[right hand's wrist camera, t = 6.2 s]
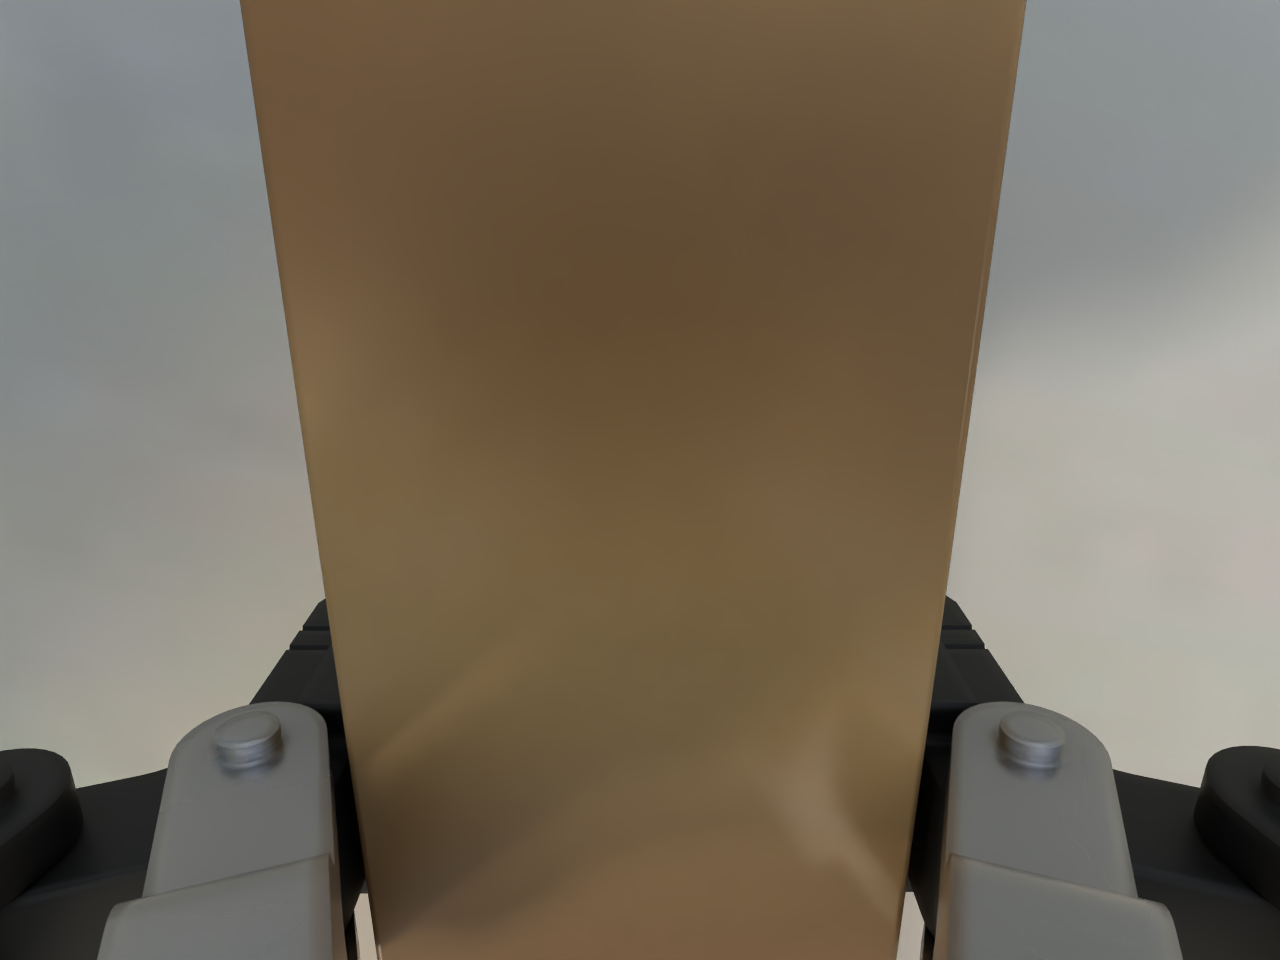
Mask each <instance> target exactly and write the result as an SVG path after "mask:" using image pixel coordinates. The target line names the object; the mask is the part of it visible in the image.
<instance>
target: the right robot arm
mask: <svg viewBox="0 0 1280 960" xmlns="http://www.w3.org/2000/svg"><path fill="white" fill-rule="evenodd" d="M984 645H985V644H984V643H983V641H982V640H981V638H980V637H979V635H978V634H977V632H976V631H975V630H972V625H971V623H970V622H969V620H968V619H967V617H966V616H965V614H964V613H963V612H962V610H961V609H960V607H959V606H958V604H957V603H956V602H955V601H953V600H952V599H950V598H949V597H947V596H946V597H945V604H944V612H943V619H942V626H941V634H940V641H939V648H938V656H937V663H936V671H935V678H934V685H933V693H932V700H931V707H930V715H929V722H928V729H927V737H926V744H925V751H924V759H923V766H922V774H921V781H920V788H919V796H918V803H917V810H916V818H915V825H914V832H913V840H912V847H911V854H910V862H909V869H908V876H907V884H906V891H905V892H914V895H915V898H916V900H917V903H918V906H919V909H920V911H921V914H922V917H923V920H924V928H923V934H922V941H921V952H920V960H1280V749H1274V748H1269V747H1260V746H1238V747H1231V748H1227V749H1223V750H1221V751H1219V752H1217V753H1215V754H1214V755H1213V756H1212V757H1211V758H1210V759H1209V761H1208V763H1207V765H1206V769H1205V772H1204V776H1203V780H1202V783H1201V787H1200V788H1198V787H1193V786H1188V785H1183V784H1178V783H1173V782H1168V781H1163V780H1158V779H1153V778H1148V777H1144V776H1139V775H1134V774H1130V773H1125V772H1121V771H1117V770H1114V769H1112V764H1111V760H1110V757H1109V754H1108V752H1107V750H1106V748H1105V747H1104V745H1103V744H1102V743H1101V742H1100V741H1099V739H1098V738H1097V737H1096V736H1095V735H1093V734H1092V733H1091V732H1090V731H1089V730H1088V729H1086V728H1085V727H1083V726H1082V725H1080V724H1079V723H1077V722H1075V721H1073V720H1072V719H1070V718H1068V717H1066V716H1064V715H1061V714H1059V713H1056V712H1054V711H1051V710H1048V709H1045V708H1042V707H1038V706H1034V705H1030V704H1024V702H1023V701H1022V699H1021V698H1020V696H1019V695H1018V693H1017V692H1016V690H1015V689H1014V687H1013V686H1012V684H1011V683H1010V681H1009V680H1008V678H1007V677H1006V675H1005V674H1004V672H1003V671H1002V669H1001V668H1000V666H999V665H998V663H997V662H996V660H995V659H994V658H993V656H992V655H991V653H990V652H989V650H988V649H985V647H984ZM360 893H368V890H367V883H366V876H365V869H364V862H363V855H362V848H361V841H360V834H359V827H358V820H357V813H356V806H355V799H354V792H353V785H352V778H351V771H350V764H349V757H348V750H347V743H346V736H345V730H344V723H343V716H342V709H341V702H340V695H339V688H338V681H337V674H336V667H335V660H334V653H333V646H332V639H331V632H330V625H329V618H328V611H327V604H326V599H324V600H323V601H321V602H320V603H318V605H317V606H316V607H315V609H314V610H313V612H312V613H311V615H310V616H309V618H308V619H307V621H306V622H305V624H304V625H303V631H299V632H298V634H297V635H296V637H295V638H294V640H293V641H292V643H291V644H290V649H289V650H286V651H285V653H284V654H283V656H282V657H281V659H280V660H279V662H278V663H277V664H276V666H275V667H274V669H273V670H272V672H271V673H270V675H269V676H268V678H267V679H266V681H265V682H264V683H263V685H262V686H261V688H260V689H259V691H258V692H257V694H256V695H255V697H254V698H253V700H252V701H251V702H250V704H249V705H246V706H242V707H238V708H235V709H232V710H229V711H226V712H224V713H221V714H219V715H216V716H214V717H212V718H210V719H209V720H207V721H205V722H203V723H201V724H200V725H198V726H197V727H195V728H194V729H193V730H191V731H190V732H189V733H188V734H187V735H185V736H184V737H183V738H182V739H181V741H180V742H179V743H178V744H177V745H176V747H175V749H174V750H173V752H172V754H171V757H170V760H169V764H168V768H166V769H163V770H160V771H157V772H153V773H149V774H145V775H141V776H136V777H131V778H126V779H121V780H116V781H112V782H107V783H102V784H97V785H92V786H87V787H82V788H77V789H76V788H75V784H74V780H73V777H72V773H71V769H70V767H69V764H68V762H67V761H66V760H65V759H64V758H63V757H62V756H60V755H58V754H57V753H55V752H51V751H48V750H43V749H34V748H31V749H12V750H5V751H0V960H360V951H359V941H358V934H357V927H356V921H355V914H354V908H355V905H356V903H357V900H358V897H359V895H360Z"/></svg>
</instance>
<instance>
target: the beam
mask: <svg viewBox="0 0 1280 960" xmlns="http://www.w3.org/2000/svg"><path fill="white" fill-rule="evenodd" d="M1026 1H1027V0H240V6H241V12H242V19H243V26H244V33H245V40H246V47H247V54H248V61H249V68H250V75H251V82H252V89H253V96H254V103H255V110H256V117H257V124H258V131H259V138H260V145H261V152H262V159H263V166H264V173H265V180H266V187H267V193H268V200H269V207H270V214H271V221H272V228H273V235H274V242H275V249H276V256H277V263H278V270H279V277H280V284H281V291H282V298H283V305H284V312H285V319H286V326H287V333H288V340H289V347H290V354H291V361H292V368H293V374H294V381H295V388H296V395H297V402H298V409H299V416H300V423H301V430H302V437H303V444H304V451H305V458H306V465H307V472H308V479H309V486H310V493H311V500H312V507H313V514H314V521H315V528H316V535H317V542H318V549H319V555H320V562H321V569H322V576H323V583H324V590H325V597H326V604H327V611H328V618H329V625H330V632H331V639H332V646H333V653H334V660H335V667H336V674H337V681H338V688H339V695H340V702H341V709H342V716H343V723H344V730H345V736H346V743H347V750H348V757H349V764H350V771H351V778H352V785H353V792H354V799H355V806H356V813H357V820H358V827H359V834H360V841H361V848H362V855H363V862H364V869H365V876H366V883H367V890H368V897H369V904H370V911H371V918H372V924H373V931H374V938H375V945H376V952H377V959H378V960H896V957H897V950H898V943H899V935H900V928H901V921H902V913H903V906H904V899H905V891H906V884H907V876H908V869H909V862H910V854H911V847H912V840H913V832H914V825H915V818H916V810H917V803H918V796H919V788H920V781H921V774H922V766H923V759H924V751H925V744H926V737H927V729H928V722H929V715H930V707H931V700H932V693H933V685H934V678H935V671H936V663H937V656H938V648H939V641H940V634H941V626H942V619H943V612H944V604H945V597H946V590H947V582H948V575H949V568H950V560H951V553H952V545H953V538H954V531H955V523H956V516H957V509H958V501H959V494H960V487H961V479H962V472H963V465H964V457H965V450H966V443H967V435H968V428H969V420H970V413H971V406H972V398H973V391H974V384H975V376H976V369H977V362H978V354H979V347H980V340H981V332H982V325H983V317H984V310H985V303H986V295H987V288H988V281H989V273H990V266H991V259H992V251H993V244H994V237H995V229H996V222H997V214H998V207H999V200H1000V192H1001V185H1002V178H1003V170H1004V163H1005V156H1006V148H1007V141H1008V134H1009V126H1010V119H1011V112H1012V104H1013V97H1014V89H1015V82H1016V75H1017V67H1018V60H1019V53H1020V45H1021V38H1022V31H1023V23H1024V16H1025V9H1026Z"/></svg>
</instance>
